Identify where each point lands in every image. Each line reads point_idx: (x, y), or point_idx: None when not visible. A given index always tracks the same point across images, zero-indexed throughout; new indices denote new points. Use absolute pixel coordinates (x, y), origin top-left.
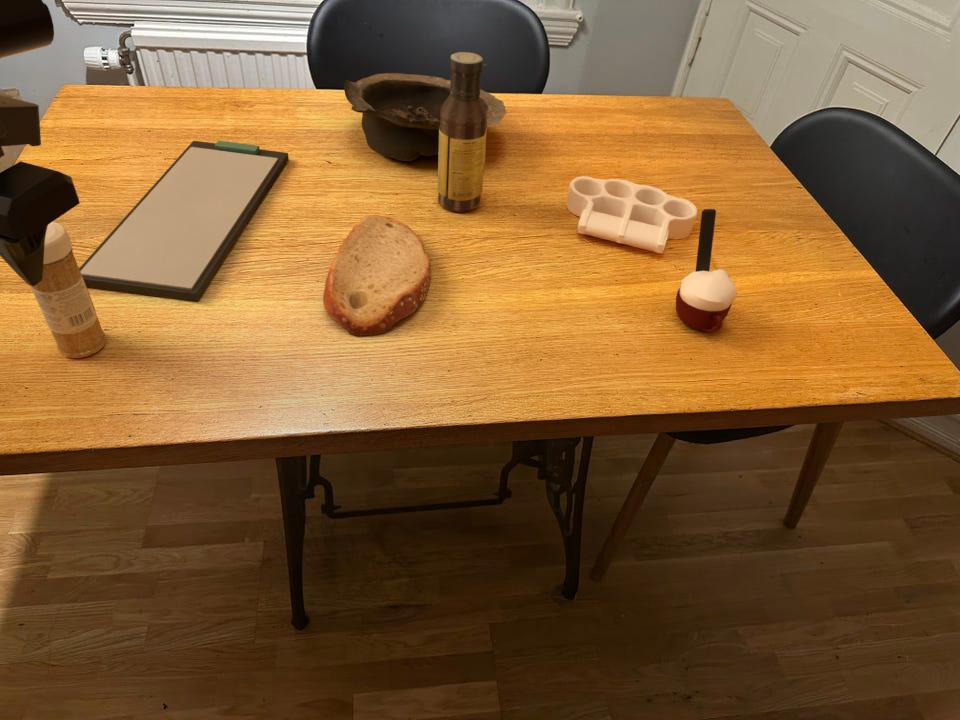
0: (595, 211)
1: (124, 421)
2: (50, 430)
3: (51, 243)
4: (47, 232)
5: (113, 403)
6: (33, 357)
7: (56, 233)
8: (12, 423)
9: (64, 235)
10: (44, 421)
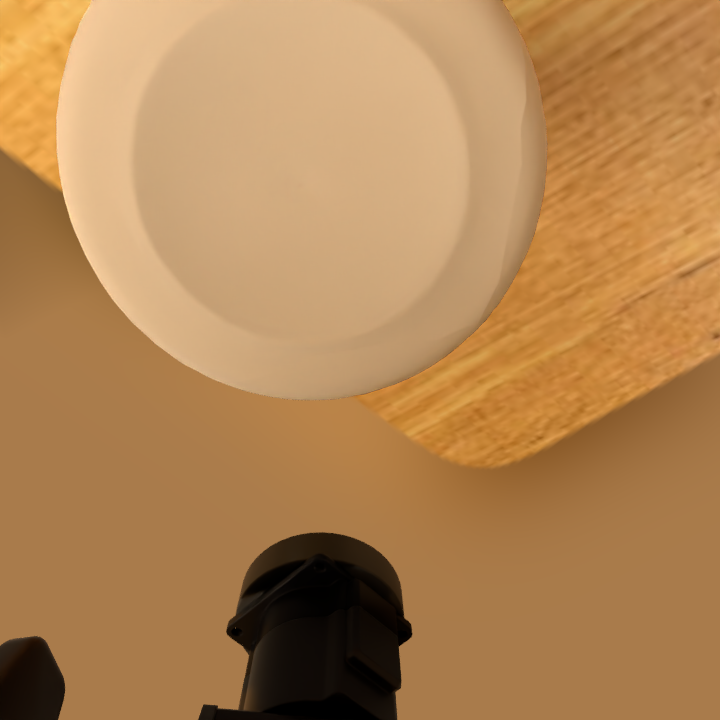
0: None
1: (672, 307)
2: (522, 413)
3: (532, 226)
4: (365, 117)
5: (602, 275)
6: None
7: (455, 78)
8: (426, 439)
9: (517, 39)
10: (487, 401)
